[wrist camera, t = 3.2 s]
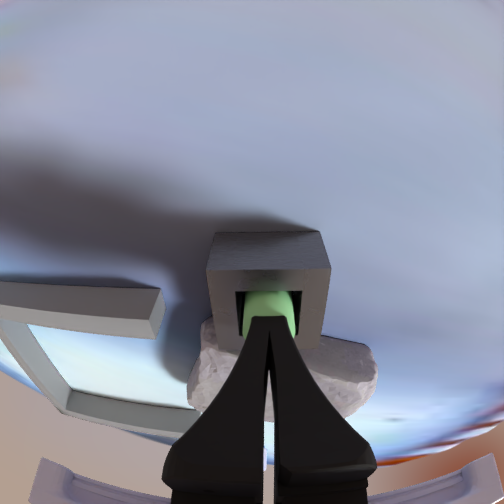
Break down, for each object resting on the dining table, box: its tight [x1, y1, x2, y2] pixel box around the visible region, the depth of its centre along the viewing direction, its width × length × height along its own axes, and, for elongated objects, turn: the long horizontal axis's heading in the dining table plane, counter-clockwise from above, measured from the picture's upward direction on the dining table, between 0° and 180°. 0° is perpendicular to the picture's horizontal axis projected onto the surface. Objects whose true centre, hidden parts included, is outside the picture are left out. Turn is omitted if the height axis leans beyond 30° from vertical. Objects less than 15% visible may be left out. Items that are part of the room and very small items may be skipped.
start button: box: [243, 291, 295, 340], centre depth 14 cm, size 2×2×4 cm
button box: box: [206, 232, 331, 350], centre depth 15 cm, size 5×5×3 cm
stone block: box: [187, 316, 378, 422], centre depth 20 cm, size 12×5×10 cm
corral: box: [0, 281, 202, 438], centre depth 20 cm, size 16×16×2 cm
